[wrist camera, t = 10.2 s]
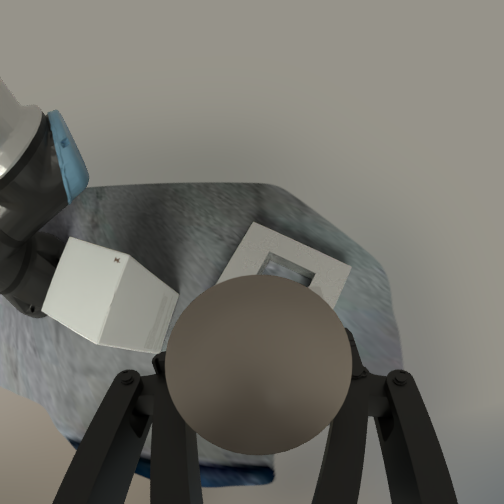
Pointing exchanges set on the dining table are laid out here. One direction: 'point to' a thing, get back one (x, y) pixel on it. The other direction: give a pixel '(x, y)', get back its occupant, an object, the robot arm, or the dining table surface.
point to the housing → (286, 261)
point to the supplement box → (109, 298)
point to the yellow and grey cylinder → (258, 364)
